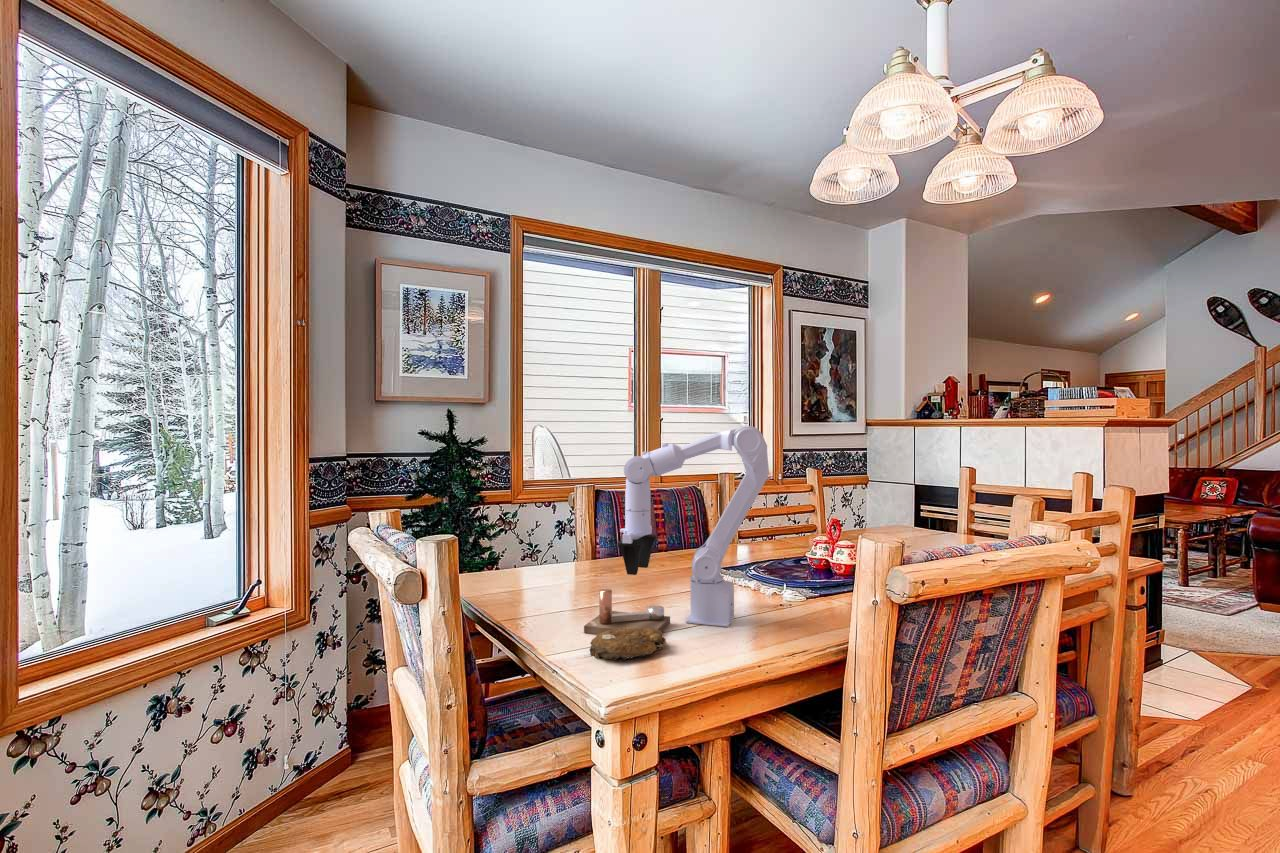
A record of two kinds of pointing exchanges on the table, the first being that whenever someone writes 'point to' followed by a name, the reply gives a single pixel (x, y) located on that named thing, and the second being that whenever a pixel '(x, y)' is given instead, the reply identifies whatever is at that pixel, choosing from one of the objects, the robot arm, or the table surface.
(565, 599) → the table surface
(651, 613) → the lever
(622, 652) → the decorative rock
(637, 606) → the table surface
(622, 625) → the board
